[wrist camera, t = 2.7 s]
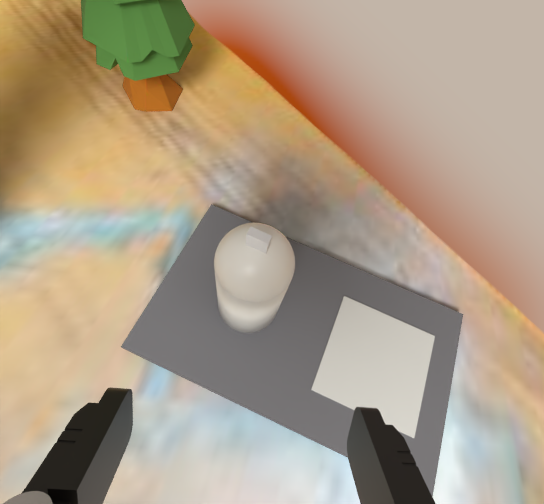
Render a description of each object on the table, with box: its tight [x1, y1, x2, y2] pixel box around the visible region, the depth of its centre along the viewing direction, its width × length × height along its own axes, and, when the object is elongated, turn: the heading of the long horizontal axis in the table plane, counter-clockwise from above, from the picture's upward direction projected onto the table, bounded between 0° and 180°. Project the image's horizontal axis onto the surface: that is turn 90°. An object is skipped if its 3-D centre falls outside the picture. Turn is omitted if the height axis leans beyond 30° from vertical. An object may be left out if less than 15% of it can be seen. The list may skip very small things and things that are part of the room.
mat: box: [121, 204, 463, 496], centre depth 27 cm, size 24×14×1 cm, turn 66°
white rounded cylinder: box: [214, 223, 295, 333], centre depth 22 cm, size 5×5×12 cm
